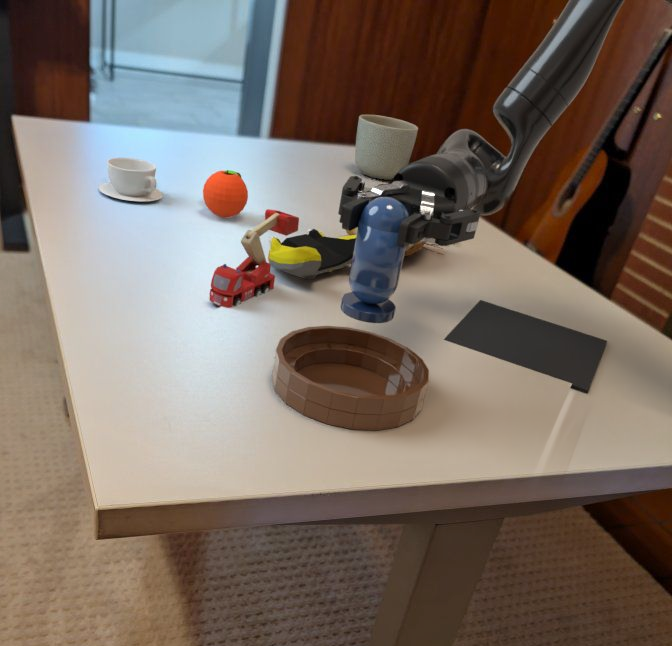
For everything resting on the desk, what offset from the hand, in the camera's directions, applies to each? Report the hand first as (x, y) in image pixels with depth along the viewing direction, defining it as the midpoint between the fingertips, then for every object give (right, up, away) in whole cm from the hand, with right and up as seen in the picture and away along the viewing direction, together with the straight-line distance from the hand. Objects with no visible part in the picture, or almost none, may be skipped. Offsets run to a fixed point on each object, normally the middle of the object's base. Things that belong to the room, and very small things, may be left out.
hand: (374, 226), depth 65 cm
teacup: (-36, +21, +55) cm, 69 cm away
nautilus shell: (+7, +11, +53) cm, 55 cm away
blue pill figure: (0, -6, +7) cm, 9 cm away
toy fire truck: (-14, 0, +29) cm, 32 cm away
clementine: (-21, +17, +54) cm, 61 cm away
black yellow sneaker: (-7, +5, +40) cm, 41 cm away
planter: (+6, +38, +96) cm, 104 cm away
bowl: (-2, -14, +12) cm, 18 cm away
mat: (+21, -6, +31) cm, 38 cm away
